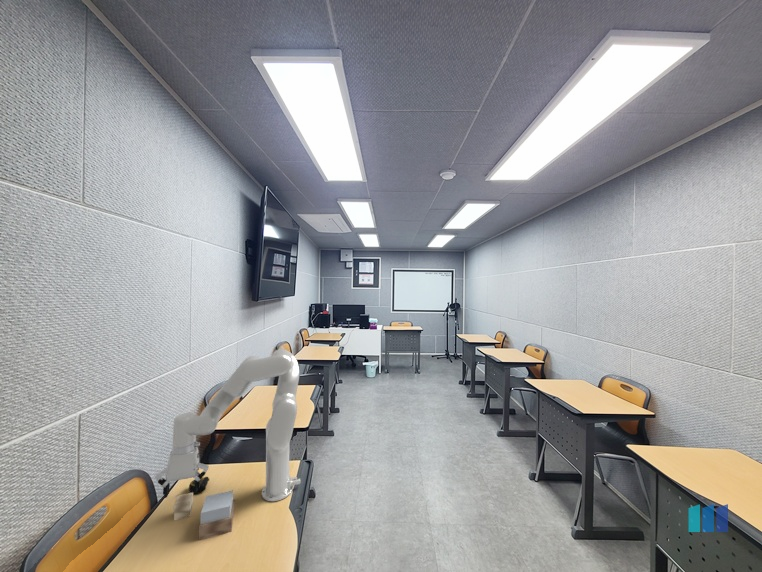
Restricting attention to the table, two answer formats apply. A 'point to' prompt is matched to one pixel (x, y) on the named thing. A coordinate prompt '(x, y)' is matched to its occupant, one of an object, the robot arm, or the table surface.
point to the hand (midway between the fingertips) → (181, 492)
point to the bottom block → (217, 526)
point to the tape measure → (202, 485)
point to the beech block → (183, 506)
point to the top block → (217, 507)
